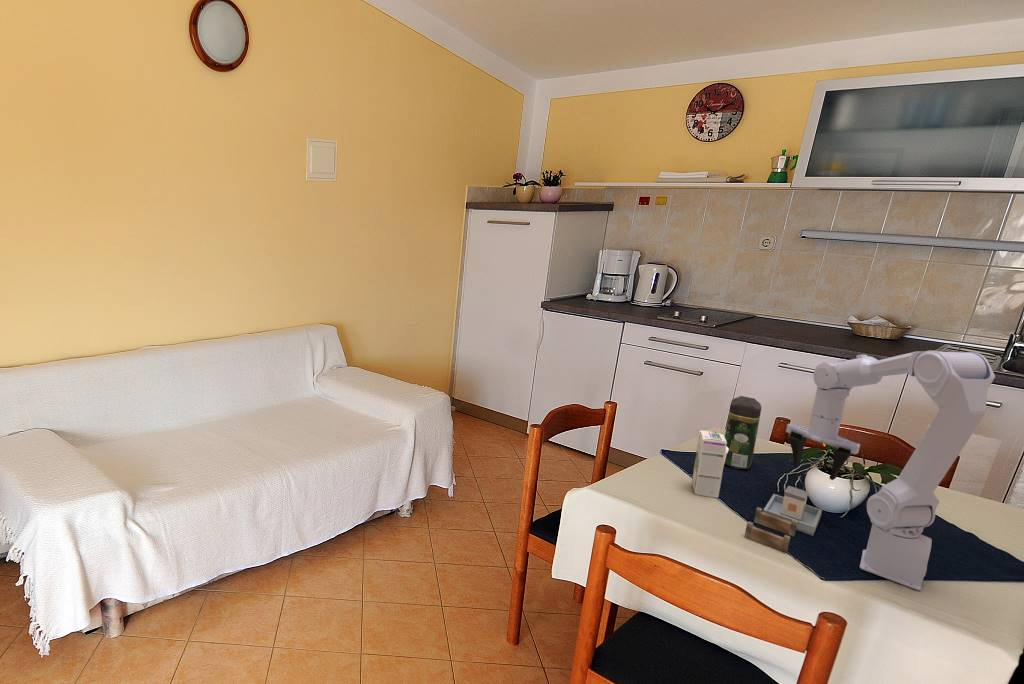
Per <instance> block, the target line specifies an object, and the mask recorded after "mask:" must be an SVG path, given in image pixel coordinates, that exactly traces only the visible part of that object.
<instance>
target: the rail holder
mask: <svg viewBox="0 0 1024 684" xmlns="http://www.w3.org/2000/svg"><path fill="white" fill-rule="evenodd" d="M754 523H756V524H758V525H761V526H763V527H767V528H769V529H773V530H774V531H776V532H777V531H778V532H780V533H783V534H784V536H780V535H778V534H775V533H772V532H770V531H768V530H764V529H762V528H759V527H756V526H754ZM797 523H798V521H796V520H792V522H790V521H787V520H784V519H781V518H778V517H775V516H773V515H770V514H767V513H764V512H763V508H761V507H758V506H757V507H756V509H755V515H754V519H753V522H751V521H747V523H746V527H745V531H744V536H743V537H744V538H745V539H748V540H751V541H754V542H756V543H759V544H762V545H765V546H767V547H770V548H772V549H775V550H777V551H780V552H782V553H785V554H787V553H788V549H789V544H790V542H791V541H790V540H791V537H795V536H796V531H797V530H796V527H797Z"/></svg>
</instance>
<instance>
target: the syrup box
mask: <svg viewBox="0 0 1024 684" xmlns="http://www.w3.org/2000/svg"><path fill="white" fill-rule="evenodd" d="M726 445H727V441H726V439H725V434H724V433H721V432H719V433H718V432H717V431H711V430H699V432H698V438H697V445H696V452H695V458H694V465H693V473H692V480H691V487H692V489H693V490H692V491H693V493H694V495H697V496H702V497H708V498H713V499H718V498H719V495H720V490H721V484H722V479H723V470H724V467H723V465H725V464H724V458H725V452H726Z"/></svg>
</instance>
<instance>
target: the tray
mask: <svg viewBox="0 0 1024 684" xmlns="http://www.w3.org/2000/svg"><path fill="white" fill-rule="evenodd" d="M783 499H784V496H782V495H779V494H777V493H776V494H775V493H773V494H772V496H771V497H770V499H769V500H768V502H767V504H766V505H765V506H764V508H763V509H762V512H764V513H767V514H770V515H773V516H775V517H778V518H781V519H784V520H787V521H790V522H792V520H795V519H793V518H790V517H787V516H784V515H781V514H780V513H781V509H782V504H783ZM822 513H823V509H821V508H818V507H814V506H812V505H809V504H807V503H806V504H805V509H804V515H803V518H802V520H801V521H798V520H796V521H798V523H797V527H796V531H798V532H801V533H804V534H806V535H808V536H811V537H812V536H813V537H814V535H815V532H816V530H817V528H818V525H819V523H820V520H821V517H822Z"/></svg>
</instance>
